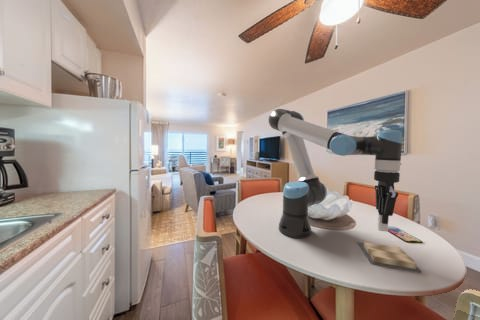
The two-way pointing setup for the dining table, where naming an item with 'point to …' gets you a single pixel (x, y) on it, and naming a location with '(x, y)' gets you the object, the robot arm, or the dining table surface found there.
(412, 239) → the smartphone
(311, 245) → the dining table surface
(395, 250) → the tile
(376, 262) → the mat
